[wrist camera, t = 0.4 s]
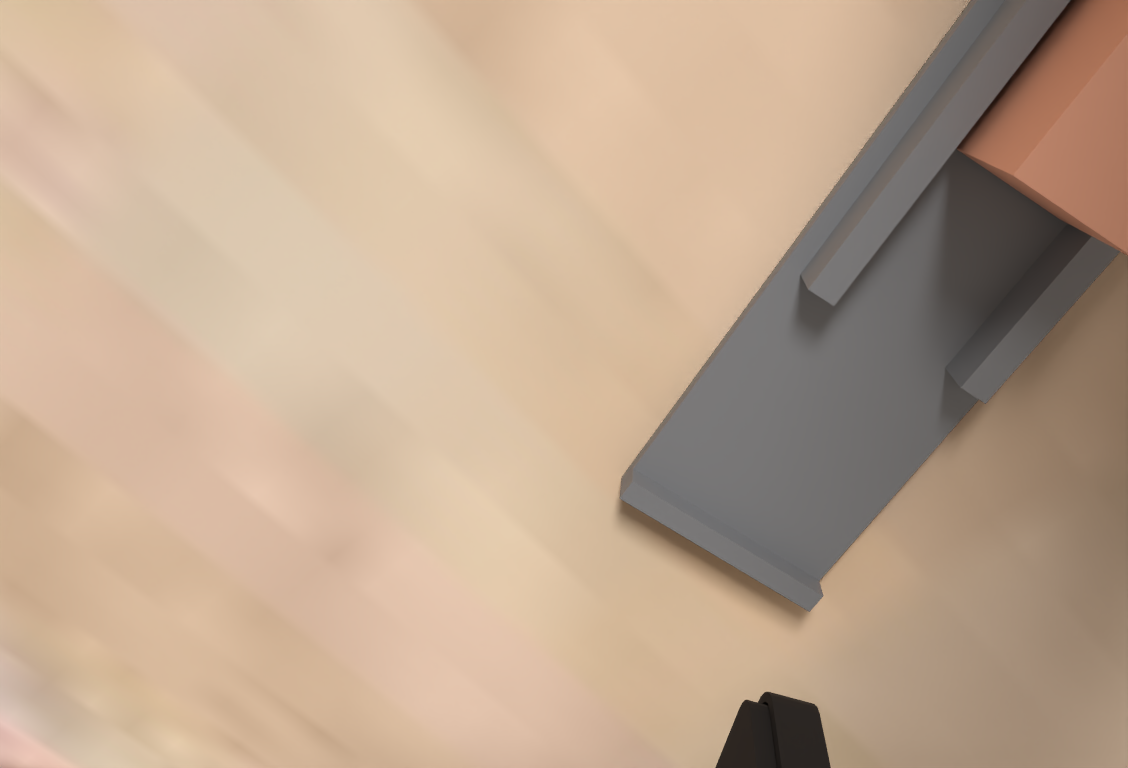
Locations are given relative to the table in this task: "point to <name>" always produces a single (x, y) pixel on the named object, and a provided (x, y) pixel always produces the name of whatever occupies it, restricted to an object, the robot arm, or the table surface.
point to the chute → (870, 329)
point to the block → (1067, 122)
